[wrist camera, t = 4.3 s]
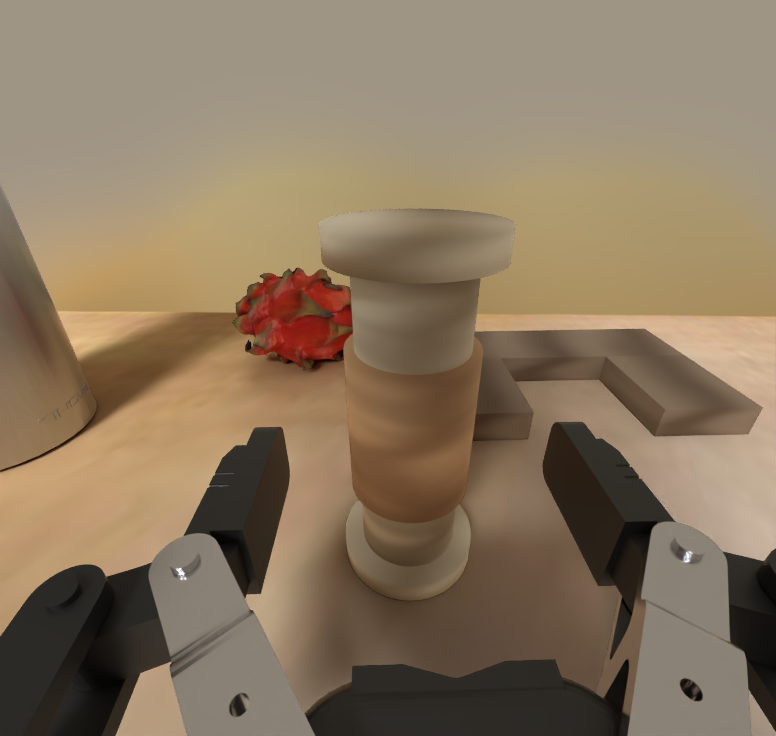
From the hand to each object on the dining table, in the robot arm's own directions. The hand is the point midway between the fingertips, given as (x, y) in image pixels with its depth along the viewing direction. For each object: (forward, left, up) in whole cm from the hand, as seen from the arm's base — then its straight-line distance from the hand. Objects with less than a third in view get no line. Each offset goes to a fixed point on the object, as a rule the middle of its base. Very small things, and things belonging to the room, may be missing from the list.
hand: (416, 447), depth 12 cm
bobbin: (0, +3, -8) cm, 9 cm away
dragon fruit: (-7, +22, -8) cm, 24 cm away
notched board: (+12, +16, -8) cm, 21 cm away
